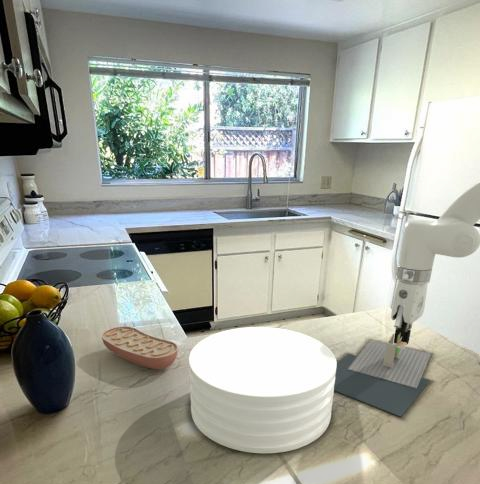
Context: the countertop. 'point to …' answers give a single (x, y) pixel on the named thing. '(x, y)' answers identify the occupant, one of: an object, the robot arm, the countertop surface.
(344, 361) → the mat
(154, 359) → the mitochondrion model
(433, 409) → the countertop surface
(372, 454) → the countertop surface
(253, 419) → the plate stack
